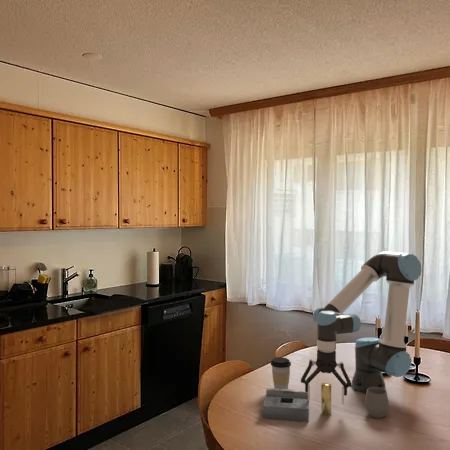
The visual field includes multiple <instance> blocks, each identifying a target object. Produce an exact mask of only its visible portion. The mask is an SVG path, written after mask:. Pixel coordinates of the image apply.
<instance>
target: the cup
mask: <svg viewBox="0 0 450 450" xmlns="http://www.w3.org/2000/svg"><path fill="white" fill-rule="evenodd" d="M388 398H389V397H388V391H387V390H386V389H382V388H378V387H371V388H368V389H367V392H366V394H365V400H364V407H365V410H366V411H367V413H368V415H369V416H370V417H373V418H378V419H381V418H385V417H386V415H387V413H388V411H389V410H390V404H389V403H390V402H389V399H388Z"/></svg>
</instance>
